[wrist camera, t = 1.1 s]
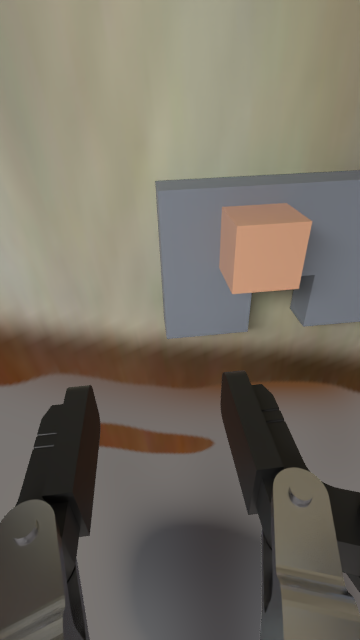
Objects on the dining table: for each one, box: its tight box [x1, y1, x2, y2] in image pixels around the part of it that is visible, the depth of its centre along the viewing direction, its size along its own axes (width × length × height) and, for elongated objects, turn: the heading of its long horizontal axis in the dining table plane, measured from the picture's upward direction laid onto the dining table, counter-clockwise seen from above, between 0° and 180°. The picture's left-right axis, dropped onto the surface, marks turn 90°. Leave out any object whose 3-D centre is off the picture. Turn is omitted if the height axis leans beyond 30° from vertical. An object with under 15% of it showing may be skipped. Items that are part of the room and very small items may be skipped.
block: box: [219, 203, 312, 294], centre depth 22 cm, size 4×4×4 cm
